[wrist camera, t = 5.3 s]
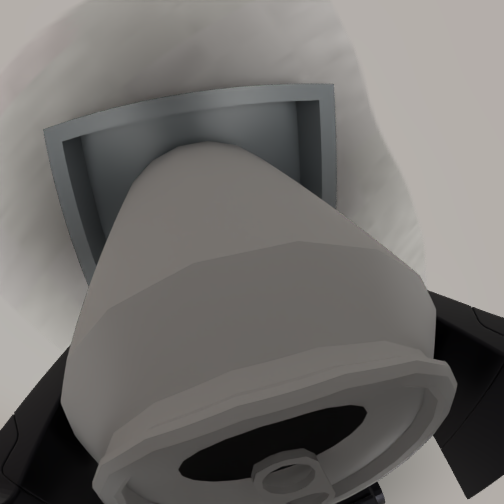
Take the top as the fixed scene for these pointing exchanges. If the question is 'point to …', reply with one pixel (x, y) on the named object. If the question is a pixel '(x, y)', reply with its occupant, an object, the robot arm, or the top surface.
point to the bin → (183, 133)
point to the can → (248, 343)
